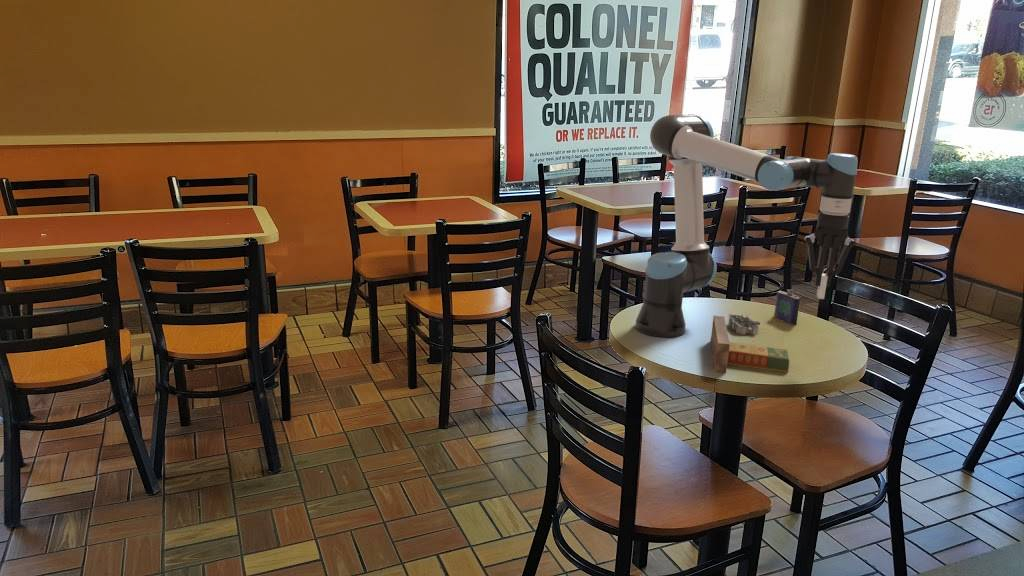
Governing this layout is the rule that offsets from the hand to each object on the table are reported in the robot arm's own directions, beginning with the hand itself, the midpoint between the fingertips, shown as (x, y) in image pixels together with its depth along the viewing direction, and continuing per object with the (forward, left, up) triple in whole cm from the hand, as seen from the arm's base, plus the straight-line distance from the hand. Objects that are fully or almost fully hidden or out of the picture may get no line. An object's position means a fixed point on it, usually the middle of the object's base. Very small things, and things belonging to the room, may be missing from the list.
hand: (820, 297), depth 202 cm
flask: (-2, +35, -19) cm, 40 cm away
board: (-26, -5, -18) cm, 32 cm away
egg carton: (-17, +22, -19) cm, 33 cm away
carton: (-15, -7, -19) cm, 25 cm away
